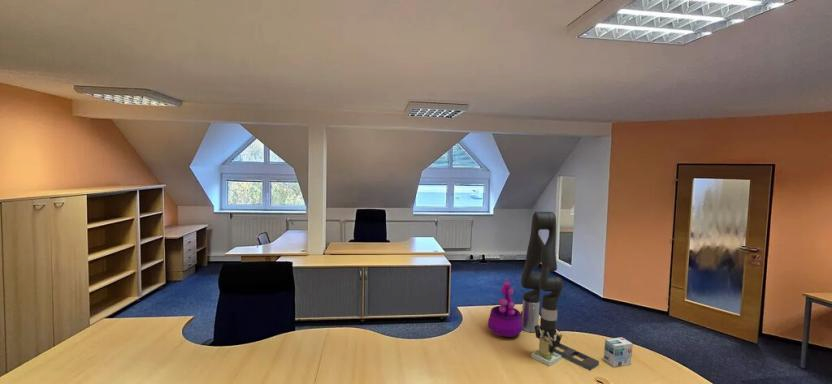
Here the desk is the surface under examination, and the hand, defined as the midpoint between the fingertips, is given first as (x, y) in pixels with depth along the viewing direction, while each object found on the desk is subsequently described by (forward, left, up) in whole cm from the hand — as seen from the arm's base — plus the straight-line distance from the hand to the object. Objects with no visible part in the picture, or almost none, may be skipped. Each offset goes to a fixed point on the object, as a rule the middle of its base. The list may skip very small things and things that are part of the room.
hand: (546, 349), depth 181 cm
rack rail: (+6, +12, -4) cm, 14 cm away
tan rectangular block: (0, 0, -2) cm, 2 cm away
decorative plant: (-29, +4, -5) cm, 30 cm away
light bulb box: (+22, +26, -5) cm, 34 cm away
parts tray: (0, 0, -4) cm, 4 cm away
